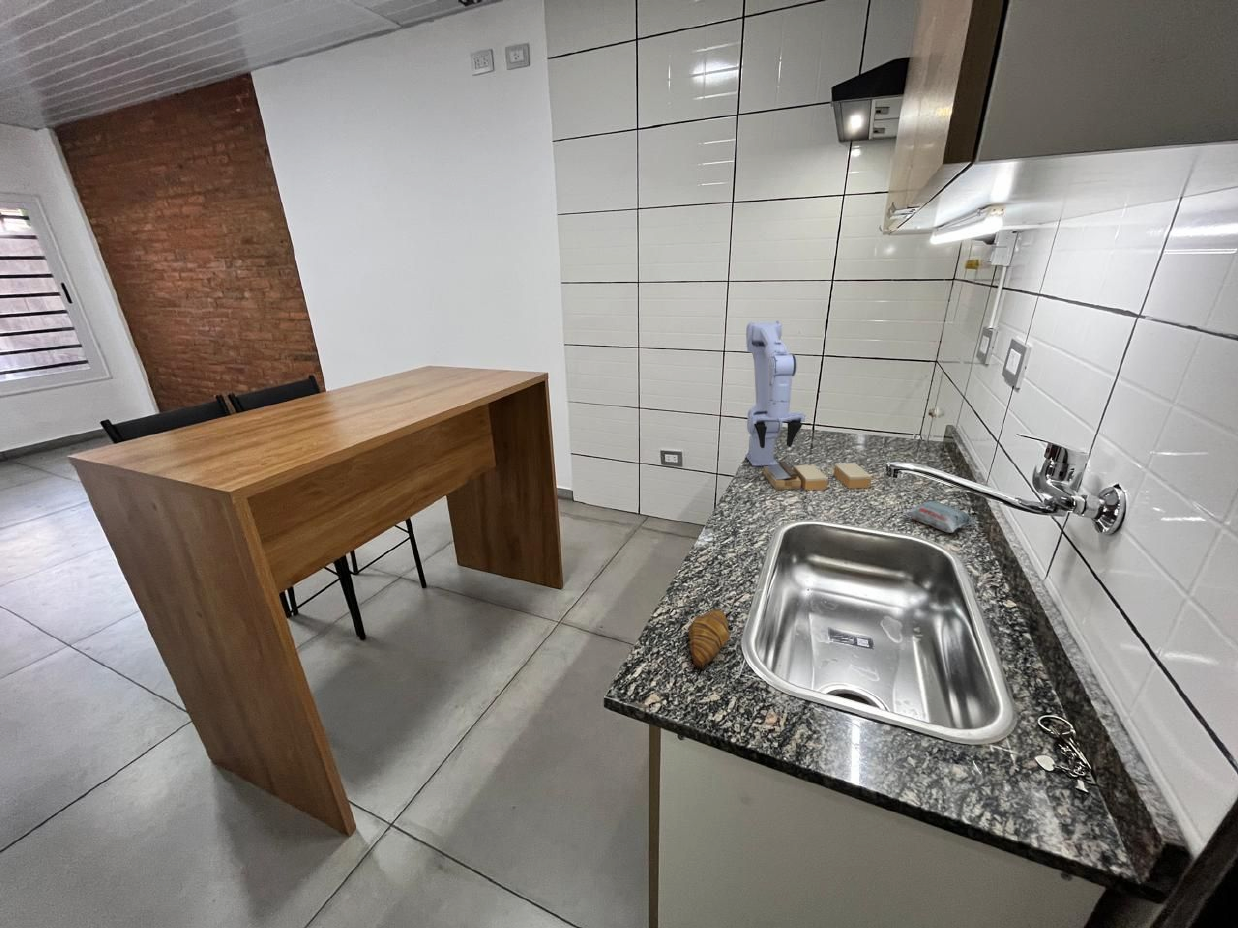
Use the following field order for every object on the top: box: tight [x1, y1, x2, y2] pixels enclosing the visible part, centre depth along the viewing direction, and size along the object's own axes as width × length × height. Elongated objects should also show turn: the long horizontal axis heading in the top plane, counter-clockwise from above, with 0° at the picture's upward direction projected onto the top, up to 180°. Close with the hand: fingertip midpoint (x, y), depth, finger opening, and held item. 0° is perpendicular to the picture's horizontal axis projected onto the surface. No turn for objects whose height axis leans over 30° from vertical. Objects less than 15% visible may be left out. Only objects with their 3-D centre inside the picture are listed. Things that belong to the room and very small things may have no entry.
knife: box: [765, 460, 797, 480], centre depth 139 cm, size 10×2×6 cm
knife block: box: [762, 465, 802, 491], centre depth 140 cm, size 12×7×2 cm, turn 1°
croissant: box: [688, 609, 730, 670], centre depth 79 cm, size 14×7×5 cm, turn 155°
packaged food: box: [902, 500, 976, 534], centre depth 112 cm, size 9×12×5 cm
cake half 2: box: [832, 462, 873, 490], centre depth 137 cm, size 10×6×4 cm, turn 0°
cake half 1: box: [792, 464, 829, 491], centre depth 138 cm, size 10×6×4 cm, turn 1°
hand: (775, 446), depth 137 cm, fingers open, 7 cm apart
